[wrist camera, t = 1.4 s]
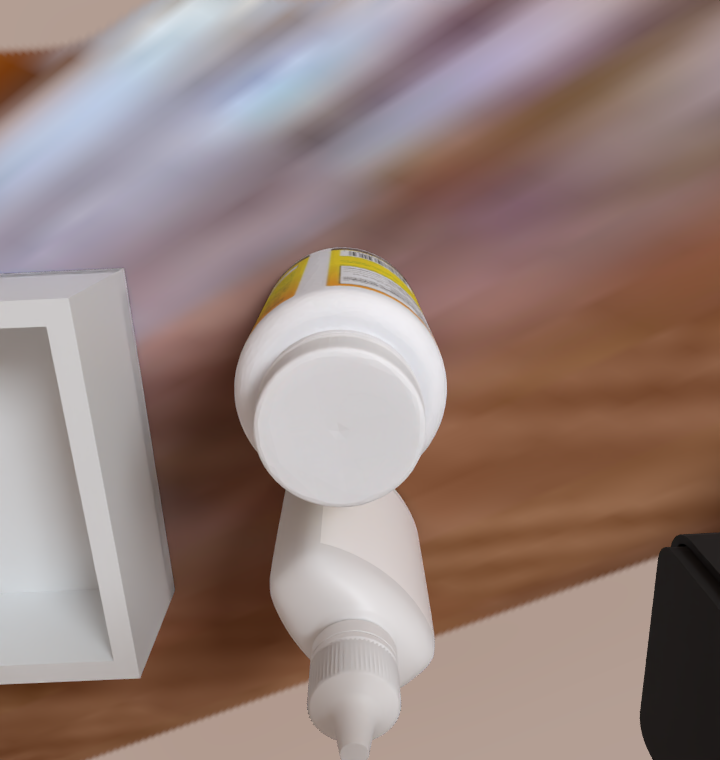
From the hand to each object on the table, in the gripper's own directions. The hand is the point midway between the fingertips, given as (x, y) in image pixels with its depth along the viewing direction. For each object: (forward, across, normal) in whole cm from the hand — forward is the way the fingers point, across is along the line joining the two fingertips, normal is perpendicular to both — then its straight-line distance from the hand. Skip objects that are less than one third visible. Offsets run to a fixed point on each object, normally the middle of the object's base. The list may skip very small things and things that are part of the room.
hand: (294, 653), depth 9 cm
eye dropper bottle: (+18, -1, +8) cm, 19 cm away
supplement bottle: (+18, -1, 0) cm, 18 cm away
